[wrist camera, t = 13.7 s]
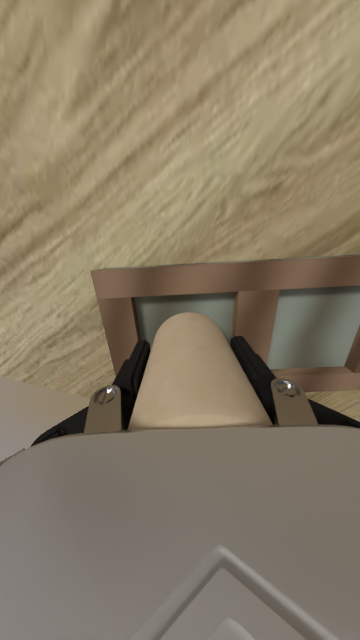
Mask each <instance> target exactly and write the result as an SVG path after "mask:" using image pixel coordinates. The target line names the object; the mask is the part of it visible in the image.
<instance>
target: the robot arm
mask: <svg viewBox="0 0 360 640" xmlns="http://www.w3.org/2000/svg"><path fill="white" fill-rule="evenodd" d="M230 347H231V349H232V350H233V352H234V354H235V356H236V358H237V360H238V361H239V363H240V365H241V367H242V369H243V371H244V372H245V374H246V376H247V378H248V380H249V382H250V383H251V385H252V387H253V389H254V391H255V393H256V394H257V396H258V398H259V400H260V402H261V404H262V405H263V407H264V409H265V411H266V413H267V415H268V416H269V418H270V420H271V422H272V424H273V425H251V426H232V427H213V428H175V429H139V430H128V426H129V423H130V419H131V416H132V413H133V409H134V406H135V402H136V399H137V396H138V392H139V389H140V385H141V382H142V379H143V375H144V372H145V368H146V365H147V362H148V358H149V355H150V351H151V350H150V343H149V342H147V341H146V340H138V341H137V343H136V345H135V347H134V349H133V352H132V354H131V356H130V358H129V359H126V360H125V361H124V363H123V364H122V366H121V368H120V370H119V372H118V374H117V376H116V378H115V380H114V382H113V384H112V385H107V386H104V387H102V388H100V389H98V390H97V391H96V392H94V394H93V395H92V396H91V399H90V403H89V406H88V407H86V408H85V409H83V410H81V411H79V412H78V413H76V414H74V415H73V416H71V417H69V418H68V419H66V420H64V421H62V422H61V423H59V424H57V425H56V426H54V427H52V428H51V429H49V430H47V431H46V432H44V433H43V434H41V435H40V436H39V437H38V438H37V439H36V440H35V441H34V443H33V444H32V445H31V447H29V448H27V449H22V450H21V451H19V452H17V453H15V454H14V455H12V456H10V457H8V458H7V459H5V460H3V461H1V462H0V640H360V422H358V421H356V420H354V419H352V418H350V417H347V416H345V415H343V414H341V413H339V412H336V411H334V410H332V409H330V408H327V407H325V406H323V405H321V404H318V403H316V402H314V401H312V400H310V399H307V397H306V395H305V392H304V390H303V389H302V388H301V387H300V386H299V385H298V384H296V383H295V382H293V381H291V380H288V379H284V378H276V377H275V375H274V374H273V373H272V371H271V370H270V369H269V367H268V366H267V365H266V364H265V362H264V361H263V360H262V358H261V357H260V356H259V355H258V354H256V353H255V352H254V350H253V349H252V348H251V346H250V345H249V344H248V342H247V341H246V340H245V338H244V337H243V336H234V337H233V338H231V340H230Z"/></svg>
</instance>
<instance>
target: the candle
mask: <svg viewBox="0 0 360 640" xmlns="http://www.w3.org/2000/svg"><path fill="white" fill-rule="evenodd" d="M251 425H273V424H272V422H271V420H270V418H269V416H268V415H267V413H266V411H265V409H264V407H263V405H262V404H261V402H260V400H259V398H258V396H257V394H256V393H255V391H254V389H253V387H252V385H251V383H250V382H249V380H248V378H247V376H246V374H245V372H244V371H243V369H242V367H241V365H240V363H239V361H238V360H237V358H236V356H235V354H234V352H233V350H232V349H231V347H230V345H229V343H228V341H227V339H226V338H225V336H224V334H223V332H222V331H221V329H220V327H219V326H218V325H217V324H216V323H215V322H214V321H213V320H212V319H211V318H209V317H207V316H205V315H203V314H200V313H196V312H184V313H179V314H176V315H174V316H172V317H170V318H169V319H167V320H166V321H165V322H164V323H163V324H162V325H161V326H160V328H159V329H158V331H157V333H156V336H155V338H154V341H153V345H152V348H151V351H150V355H149V358H148V362H147V365H146V368H145V372H144V375H143V379H142V382H141V385H140V389H139V392H138V396H137V399H136V402H135V406H134V409H133V413H132V416H131V419H130V423H129V426H128V430H139V429H175V428H213V427H232V426H251Z"/></svg>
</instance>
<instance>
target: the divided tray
mask: <svg viewBox="0 0 360 640" xmlns="http://www.w3.org/2000/svg"><path fill="white" fill-rule="evenodd" d="M91 275H92V279H93V284H94V288H95V292H96V296H97V300H98V304H99V308H100V313H101V317H102V321H103V325H104V329H105V333H106V337H107V342H108V346H109V350H110V354H111V358H112V362H113V366H114V371H115V375H116V376H117V374H118V372H119V370H120V368H121V366H122V364H123V363H124V361H125V360H126V359H129V358H130V356H131V354H132V352H133V349H134V347H135V345H136V343H137V341H138V340H146V341H147V342H149V343H150V350H151V348H152V345H153V341H154V338H155V336H156V333H157V331H158V329H159V328H160V326H161V325H162V324H163V323H164V322H165V321H166V320H167V319H169V318H170V317H172V316H174V315H176V314H179V313H184V312H196V313H200V314H203V315H205V316H207V317H209V318H211V319H212V320H213V321H214V322H215V323H216V324H217V325H218V326H219V327H220V329H221V331H222V332H223V334H224V336H225V338H226V339H227V341H228V343H229V345H230V340H231V338H233V337H234V336H243V337H244V338H245V340H246V341H247V342H248V344H249V345H250V346H251V348H252V349H253V350H254V352H255V353H256V354H258V355H259V356H260V357H261V358H262V360H263V361H264V362H265V364H266V365H267V366H268V367H269V369H270V370H271V371H272V373H273V374H274V375H275V377H276V378H284V379H288V380H291V381H293V382H295V383H296V384H298V385H299V386H300V387H301V388H302V389H303V390H304V392H316V391H340V390H360V255H343V256H324V257H306V258H287V259H269V260H250V261H232V262H213V263H195V264H176V265H158V266H139V267H121V268H103V269H98V270H93V271H91Z"/></svg>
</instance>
